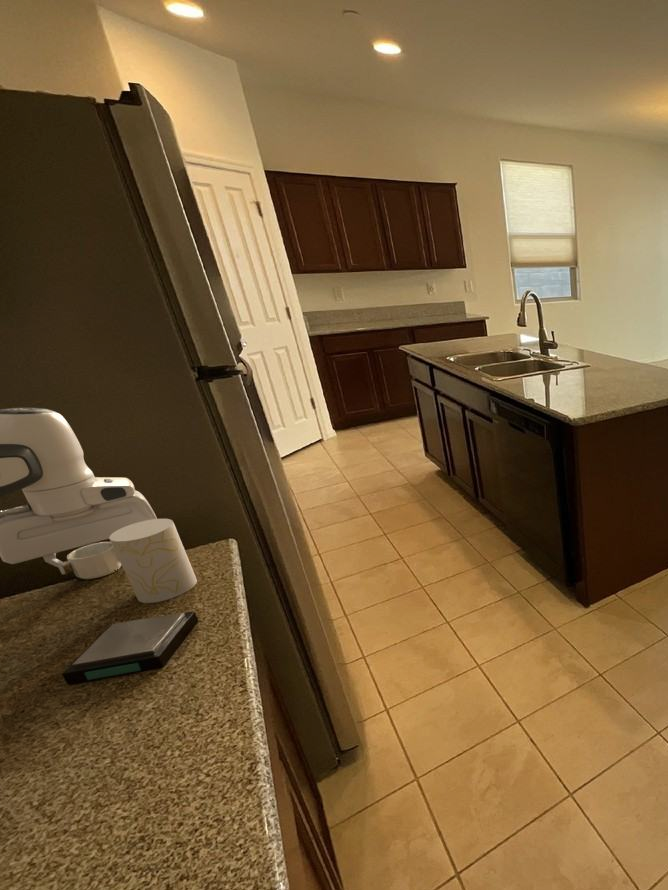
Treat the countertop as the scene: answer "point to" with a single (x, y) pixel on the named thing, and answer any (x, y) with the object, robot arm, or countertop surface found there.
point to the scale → (132, 647)
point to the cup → (154, 560)
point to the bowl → (94, 560)
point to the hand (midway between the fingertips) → (98, 563)
